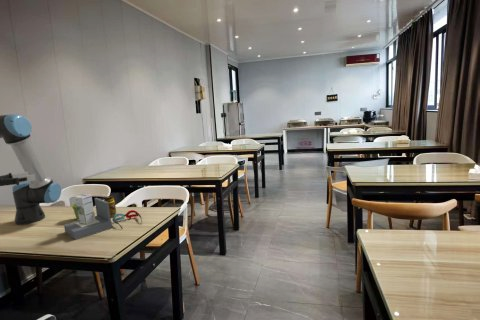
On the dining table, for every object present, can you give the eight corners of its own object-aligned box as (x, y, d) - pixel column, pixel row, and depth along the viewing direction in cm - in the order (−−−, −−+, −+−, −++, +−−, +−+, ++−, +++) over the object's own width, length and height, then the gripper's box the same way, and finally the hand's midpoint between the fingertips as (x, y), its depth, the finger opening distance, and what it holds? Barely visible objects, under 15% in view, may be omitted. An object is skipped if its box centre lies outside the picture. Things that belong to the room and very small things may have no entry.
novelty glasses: (137, 216, 179) (136, 208, 178) (145, 223, 166) (144, 215, 166) (112, 223, 171) (111, 214, 170) (118, 230, 159) (117, 221, 158)
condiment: (118, 216, 181) (115, 196, 179) (103, 220, 176) (100, 200, 174) (115, 213, 187) (113, 194, 185) (100, 217, 182) (97, 197, 180)
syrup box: (96, 220, 162) (92, 194, 160) (86, 224, 157) (81, 197, 155) (88, 219, 165) (84, 193, 162) (78, 223, 160) (74, 196, 157)
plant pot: (94, 216, 184) (92, 202, 183) (80, 221, 176) (78, 207, 174) (84, 214, 188) (82, 201, 187) (70, 220, 180) (67, 205, 179)
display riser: (65, 232, 161) (60, 206, 159) (100, 221, 174) (96, 197, 171) (75, 239, 150) (70, 212, 148) (112, 228, 162) (108, 202, 160)
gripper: (-27, 189, 145) (26, 180, 160) (-20, 197, 128) (39, 186, 142) (-30, 174, 144) (24, 166, 159) (-24, 180, 126) (36, 170, 141)
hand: (31, 175), depth 151 cm, fingers open, 13 cm apart
